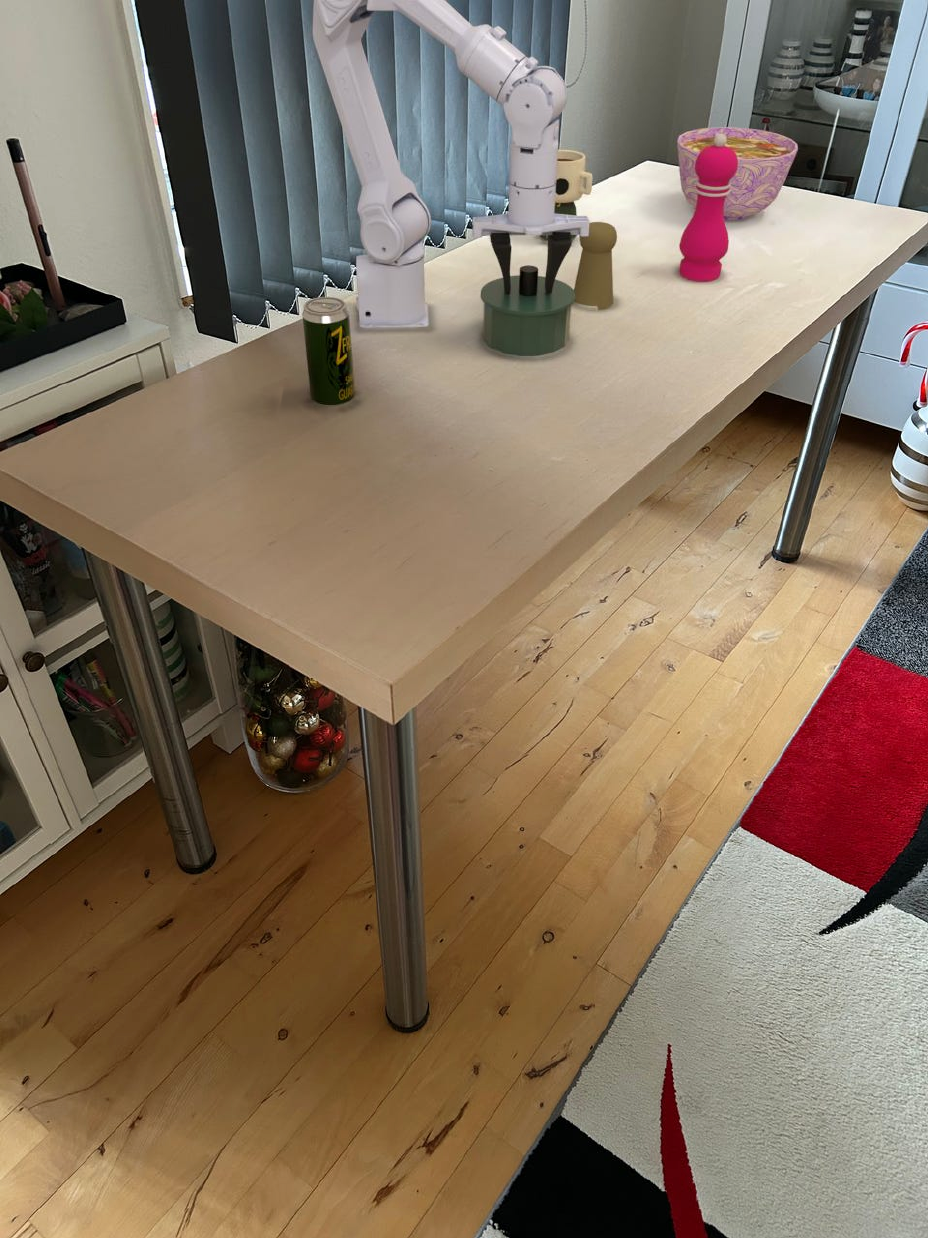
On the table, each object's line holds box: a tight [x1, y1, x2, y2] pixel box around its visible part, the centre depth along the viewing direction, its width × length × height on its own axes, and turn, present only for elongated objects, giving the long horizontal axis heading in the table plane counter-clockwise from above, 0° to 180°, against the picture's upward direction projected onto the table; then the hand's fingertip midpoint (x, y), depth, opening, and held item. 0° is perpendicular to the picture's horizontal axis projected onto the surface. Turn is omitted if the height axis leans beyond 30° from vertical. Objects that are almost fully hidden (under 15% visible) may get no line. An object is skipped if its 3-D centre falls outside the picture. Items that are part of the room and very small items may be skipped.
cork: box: [573, 221, 618, 311], centre depth 143 cm, size 6×6×11 cm
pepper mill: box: [678, 134, 738, 282], centre depth 148 cm, size 7×7×20 cm
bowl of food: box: [676, 126, 799, 222], centre depth 173 cm, size 20×20×12 cm
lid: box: [480, 264, 575, 316], centre depth 131 cm, size 12×12×4 cm
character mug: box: [539, 149, 593, 241], centre depth 162 cm, size 11×7×13 cm, turn 55°
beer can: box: [301, 296, 356, 408], centre depth 119 cm, size 5×5×12 cm
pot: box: [482, 302, 572, 357], centre depth 134 cm, size 11×11×6 cm
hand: (527, 290), depth 131 cm, fingers open, 5 cm apart
